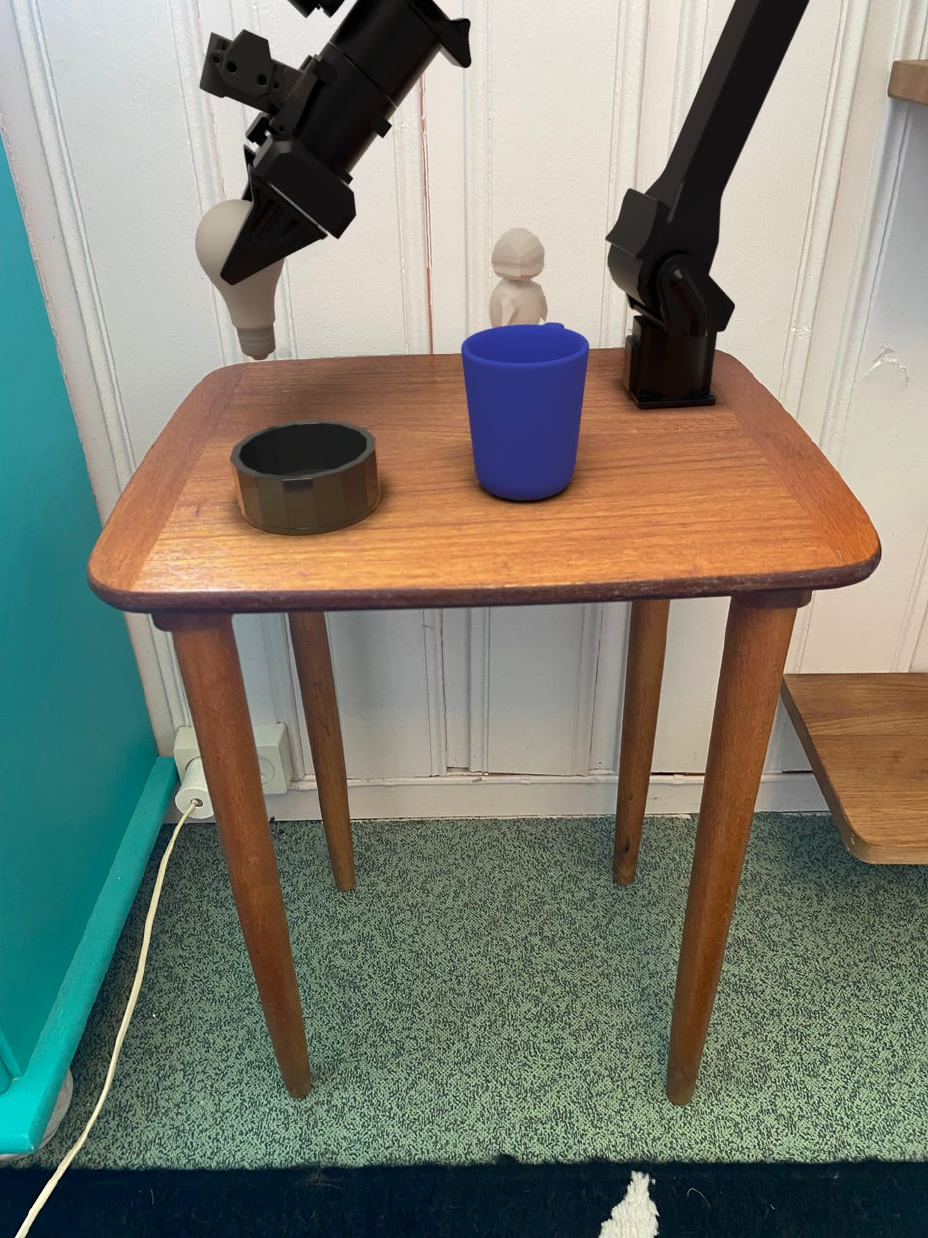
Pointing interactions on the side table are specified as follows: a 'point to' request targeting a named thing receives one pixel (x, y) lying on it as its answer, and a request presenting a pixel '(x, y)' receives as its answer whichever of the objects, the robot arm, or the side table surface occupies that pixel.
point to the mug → (525, 406)
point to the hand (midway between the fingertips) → (224, 269)
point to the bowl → (306, 476)
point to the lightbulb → (249, 296)
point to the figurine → (517, 280)
